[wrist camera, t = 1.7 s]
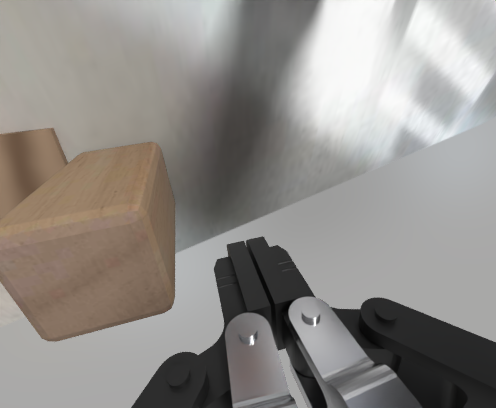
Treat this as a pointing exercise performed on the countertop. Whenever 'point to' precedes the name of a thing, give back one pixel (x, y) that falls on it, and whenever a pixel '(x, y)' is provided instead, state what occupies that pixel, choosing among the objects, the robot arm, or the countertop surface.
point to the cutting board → (27, 164)
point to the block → (93, 244)
